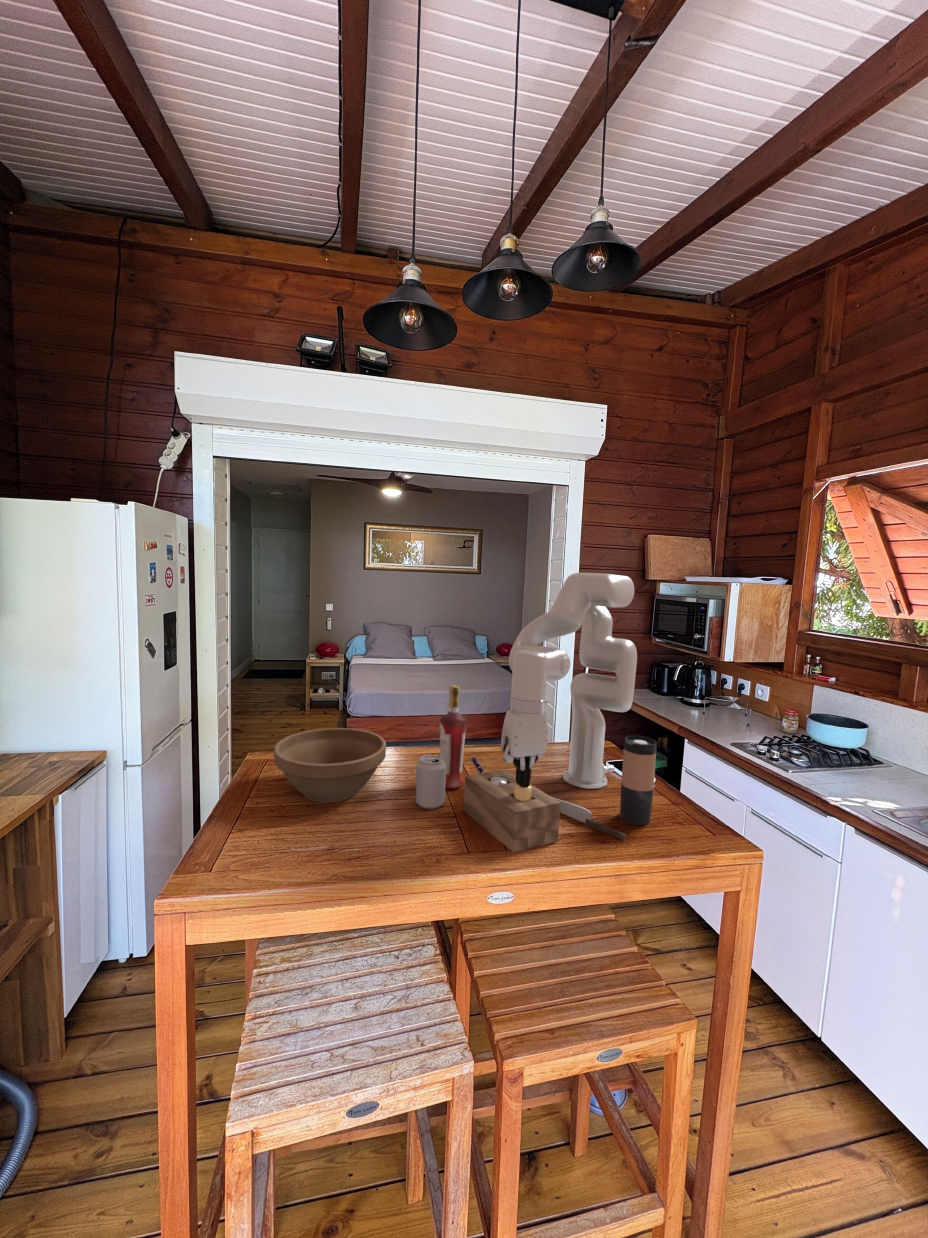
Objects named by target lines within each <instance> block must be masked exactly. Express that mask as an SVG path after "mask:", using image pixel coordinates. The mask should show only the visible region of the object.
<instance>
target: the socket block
mask: <svg viewBox="0 0 928 1238" xmlns="http://www.w3.org/2000/svg"><path fill="white" fill-rule="evenodd" d="M493 777H502V778H505V779H506V780H507V784H503V785H497V786H496V785H494V784H493V783H491V778H493ZM464 779H465V780H464V798H463V799H464V800H463V801H464V802H463V811H464V812H465V813H466V814H467V815H469V817H471V819H473V820H474V821H475V822H477V823H478V824H479V825H480V826H481V827H482V828H484V829H485V830H486V831H487V832H488V833H490V834H491V835H492V836H493V837H494V838H496V839H497V841H499V842H500V843H501V844H502V845H503V846H505V847H506V848H507V849H508V850H509V851H511V852H512V853H513V854H515V853H518V852H522V851H526V850H530V849H533V848H534V849H535V848H537V847H540V846H545V845H548V844H552V843H556V842H559V829H560V815H561V814H560V813H561V812H560V802H559V801H557V800H555V799H554V798H555V797H554V798H552V797H553V796H551V797H550V795H548V794H547V793H545V792H544V791H542V790H541V789H539V788H537V787H536V786H534V785H533V784H532V797H531V800H529V801H524V802H519V801H517V800H516V799H514V784H515V782H516V773H513V772H512V771H511V770H509V769H507V768H503V769H497V770H491V771H486V772H485V771H484V772H480V773H479V772H478V773H474V774H468V775H465V778H464Z"/></svg>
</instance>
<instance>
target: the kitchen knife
mask: <svg viewBox="0 0 928 1238" xmlns="http://www.w3.org/2000/svg"><path fill="white" fill-rule="evenodd" d="M549 796H550V795H549ZM550 797H552V798H554V799H555V800H557V801H559V802H560V813H561V814H562V815H564V816H567V817H570V818H572V819H574V820H576V821H578V822H581V823H583V824H585V825H587V826H589V827H590V828H593V829H596V830H597V831H600V832H602V833H605V834H607V835H609V836H611V837H613V838H616V839H619V840H620V841H624V840H626V838H627V835H626V834H625V833H624V832H622V831H620V830H618V829H615V828H612V827H610V826H608V825H606V824H604V823H602V822H599V821H597V820H595V819H592V817H593V816H592V812H591V810H589V809H587V808H585V807H583V806H580V805H578V804H574V803H571V802H568V801H565V800H562V799H559V798H556V797H554V796H550Z"/></svg>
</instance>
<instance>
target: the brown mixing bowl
mask: <svg viewBox="0 0 928 1238" xmlns="http://www.w3.org/2000/svg"><path fill="white" fill-rule="evenodd" d="M273 749H274V750H273V759H274V764H275V766H276V768H277V769H278V770H280V771H281V772H283V775H284V776H285V778H286V779H287V780H288V782H290V784H291V785H292V786H293V787H294V788H295V789H296V790H298V791H299V792H300V793H301V794H302V795H303V797H305V798H306V799H309V800H310V801H312V802H315V803H325V804H327V803H338V802H343V801H346V800H349V799H350V798H353V797H354V796H355V795H357V794H358V792H360V790H361V789H362V788H363V787H364V786H365V785H366V784H367V783H368V782H369V781H370V780H371V778H372V776H373V775H375V772H376V771H377V769H378V767H379V766H380V765H381V764H382V763H383V762H384V761H385V759H386V751H387V742H386V740H385V739H384V738H383V737H382V736H381V735H379V734H377V733H374V732H371V731H367V730H363V729H356V728H347V727H346V728H344V727H343V728H342V727H336V728H335V727H331V728H330V727H329V728H317V729H312V730H306V731H302V732H301V731H300V732H297V733H294V734H291V735H287V736H286V737H284V738H282V739H281V740H279V741H278V742H277V743H276V744H275V746H274V748H273Z"/></svg>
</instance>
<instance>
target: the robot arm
mask: <svg viewBox="0 0 928 1238" xmlns="http://www.w3.org/2000/svg"><path fill="white" fill-rule="evenodd" d="M634 585H635V584H634V581H633V580H632V579H631V577H629V576H627V575H621V574H619V575H618V574H612V573H599V572H598V573H597V572H574V573H572V574H570V575H568V576H567V578H566V579H565V581H564V582H563V585H562V587H561V588H560V590H559V592H558V594H557V597H556V598H555V600H554V602H553V605H552V606H551V608H550V610H549V611H547V612H546V613H544V614H542V615H540V616H538V617H536V619H534V620H532V621H531V622H529V623H528V624H527V625H525V626H524V627H523V628H522V629H521V631H520V632H519V634H517V637H516V639H515V641H514V642H513V645H512V647H511V649H510V652H509V655H508V656H509V657H508V664H509V665H508V666H509V668H510V670H511V671H512V675H511V690H510V691H511V693H510V695H511V696H510V709H508V710H507V711H506V713H505V715H504V716H505V717H504V721H503V725H502V733H501V741H500V751H501V752H502V753H503V758H502V761H504V762H505V763H509V764H513V766H514V767H515V775H516V783H517V784H518V785H520V786H521V787H523V788H524V787H529V786H530V783H531V780H532V779H531V777H532V776H531V775H532V770H533V769H534V766H535V764H536V763H537V761H539V760H541V759H543V758H545V755H546V751H547V749H548V736H549V735H548V731H549V730H548V718H547V712H546V711H545V705H548V703H549V701H548V699H547V698H546V689H547V688H546V685H547V681H553V682H554V681H555V682H556V681H559V680H562V679H564V678H565V677H566V676H567V674H568V673H569V672H570V669H571V659H570V656H569V655H568V653H567V652H566V651H564V650H563V649H561V648H558V647H557V648H556V647H551V646H549V647H548V646H542V645H539V644H541V643H544V642H545V641H548V640H551V639H556V638H560V637H562V636H567V635H571V634H573V633H575V632H577V631H578V630H579V629H580V628H581V633H580V643H579V644H580V645H579V654H578V655H579V662H580V664H581V666H583V667H584V668H588V669H592V670H593V669H594V670H598V671H604V672H605V671H606V672H613V673H614V674H616V676H612V675H605V674H598V673H591V672H582V673H579V674H576V675H575V676H574V677H573V678H572V679H571V683H570V688H569V690H570V701H571V727H570V729H571V731H570V745H569V759H568V760H569V762H568V770H565V771H564V772H563V774H562V779H563V781H564V782H566V784H569V785H571V786H574V787H576V788H580V789H591V790H593V789H597V790H598V789H601V788H604V787H606V786H607V785H608V778H607V776H606V774H607V773H610V772H611V773H612V772H614V771H615V767H614V765H613V764H609V765H605V764H604V752H605V751H604V750H605V737H606V735H605V734H606V721H605V718H604V715H603V713H602V712H601V710H604V711H605V710H606V711H611V712H617V713H625V712H628V711H629V710H630V709H631V707H632V705H633V702H634V695H635V694H634V693H635V685H636V684H635V683H636V673H637V663H638V651H637V647H636V645H635V643H634V642H633V641H631V640H629V639H626V638H617V637H613V634H612V633H613V622H614V621H613V617H612V615H611V613H610V611H609V609H608V608H626V607H628V606H629V605H630V604H631V603H632V601H633V599H634V596H635V586H634Z"/></svg>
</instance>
